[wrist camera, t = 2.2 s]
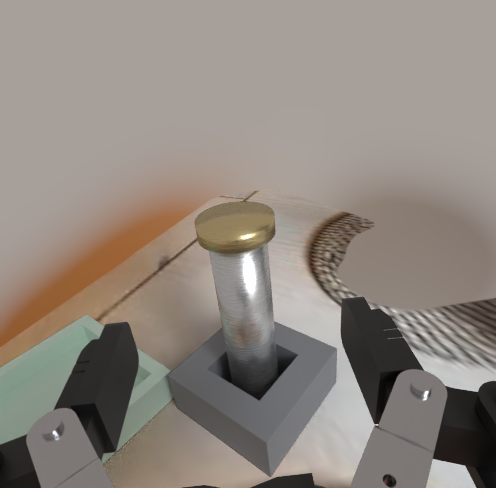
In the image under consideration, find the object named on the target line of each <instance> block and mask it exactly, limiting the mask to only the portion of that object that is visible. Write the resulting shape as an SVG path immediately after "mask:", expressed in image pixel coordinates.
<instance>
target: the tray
mask: <svg viewBox="0 0 496 488" xmlns="http://www.w3.org/2000/svg"><path fill="white" fill-rule="evenodd" d="M103 328H104V326H103V325H102V324H100V323H99V322H97V321H96V320H94V319H93V318H91V317H89V316H88V315H85V316H83V317H82V318H80V319H78V320H77V321H75V322H73V323H72V324H70V325H69V326H67V327H65V328H64V329H62V330H60V331H59V332H57V333H56V334H54V335H52V336H51V337H49V338H47V339H46V340H44V341H43V342H41V343H39V344H38V345H36V346H34V347H33V348H31V349H30V350H28V351H26V352H25V353H23V354H21V355H20V356H18V357H17V358H15V359H13V360H12V361H10V362H8V363H7V364H5V365H4V366H2V367H0V444H3V443H6V442H8V441H11V440H13V439H16V438H19V437H21V436H24V435H26V434H28V432H29V430H30V428H31V427H32V425H33V424H34V423H35V422H36V421H37V420H38V419H39V418H41V417H42V416H43V415H45V414H46V413H48V412H50V411H53V410H54V408H55V406H56V403H57V401H58V399H59V397H60V395H61V393H62V391H63V389H64V386H65V384H66V382H67V380H68V378H69V376H70V374H72V369H73V367H74V365H76V361H77V359H78V357H79V355H80V353H81V350H82V349H83V348H84V347H85V346H86V345H87V344H88V343H89V342H90V341H91V340H93V339H99V337H100V335H101V333H102V330H103ZM137 351H138V356H139V366H138V371H137V375H136V379H135V383H134V386H133V390H132V394H131V398H130V401H129V405H128V409H127V412H126V416H125V420H124V424H123V427H122V431H121V435H120V439H119V442H118V446H117V450H116V452H117V451H118V450H119V449H120V448H121V447H122V446H123V445H124V444H125V443H126V442H127V441H128V440H130V439H131V438H132V437H133V436H134V435H135V434H136V433H137V432H138V431H139V430H140V429H141V428H142V427H143V426H144V425H145V424H147V423H148V422H149V421H150V420H151V419H152V418H153V417H154V416H155V415H156V414H157V413H158V412H159V411H160V410H161V409H163V408H164V407H165V406H166V405H167V404H168V403H169V402H170V401H171V400H172V399H173V398H174V396H173V393H172V389H171V386H170V382H169V379H168V376H167V375H169V374H170V373H171V370H169V369H168V368H166V367H165V366H163V365H162V364H160V363H159V362H157V361H156V360H154V359H153V358H151V357H150V356H148V355H147V354H145V353H144V352H142V351H141V350H139V349H138V348H137ZM116 452H113V453H104V454H103V457H102V461H101V462H102V464H104V463H105V462H106V461H107V460H108V459H109V458H110V457H111V456H112V455H114V454H115V453H116Z"/></svg>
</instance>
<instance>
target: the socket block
mask: <svg viewBox="0 0 496 488" xmlns="http://www.w3.org/2000/svg"><path fill="white" fill-rule="evenodd" d="M274 326H275V338H276V350H277V362H278V374H279V376H280V377H279V378H278V380H277V381H276V382H275V383H274V384H273V386H272V387H271V388H270V389H269V390H268V392H267V393H266V394H265V395H264V396H263V397H262V399H261V400H260V401H259V400H257V399H255V398H254V397H252V396H251V395H249V394H247V393H246V392H244V391H242V390H241V389H239V388H237V387H236V386H234V385H232V384H231V383H232V379H231V374H230V368H229V362H228V356H227V351H226V345H225V339H224V334H223V328H221V329H220V330H219V331H218V332H217V333H216V334H214V335H213V336H212V337H211V338H210V339H209V340H207V341H206V342H205V343H204V344H203V345H202V346H201V347H199V348H198V349H197V350H196V351H195V352H194V353H193V354H191V355H190V356H189V357H188V358H187V359H186V360H185V361H183V362H182V363H181V364H180V365H179V366H178V367H177V368H175V369H174V370H173V371H172V372H171V373H170V374H169V375H167V376H168V379H169V382H170V386H171V389H172V393H173V396H174V399H175V403H176V406H177V408H178V409H180V410H181V411H182V412H184V413H185V414H186V415H188V416H189V417H190V418H192V419H193V420H194V421H196V422H197V423H198V424H200V425H201V426H202V427H204V428H205V429H206V430H208V431H209V432H210V433H212V434H213V435H215V436H216V437H217V438H219V439H220V440H221V441H223V442H224V443H225V444H227V445H228V446H229V447H231V448H232V449H233V450H235V451H236V452H237V453H239V454H240V455H241V456H243V457H244V458H246V459H247V460H248V461H250V462H251V463H252V464H254V465H255V466H256V467H258V468H259V469H260V470H262V471H263V472H264V473H266V474H267V475H268V476H270V477H271V476H272V474H273V473H274V472H275V470H276V469H277V467H278V466H279V464H280V463H281V461H282V460H283V458H284V457H285V456H286V454H287V453H288V451H289V450H290V448H291V447H292V445H293V444H294V442H295V441H296V439H297V438H298V437H299V435H300V434H301V432H302V431H303V429H304V428H305V426H306V425H307V423H308V422H309V420H310V419H311V418H312V416H313V415H314V413H315V412H316V410H317V409H318V407H319V406H320V404H321V403H322V401H323V400H324V399H325V397H326V396H327V394H328V393H329V391H330V390H331V388H332V387H333V385H334V384H335V383H336V364H337V348H334V347H332V346H330V345H327V344H325V343H323V342H321V341H318V340H316V339H314V338H311V337H309V336H307V335H305V334H302V333H300V332H298V331H295V330H293V329H291V328H288V327H286V326H284V325H282V324H279V323H277V322H275V321H274Z"/></svg>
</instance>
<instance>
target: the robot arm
mask: <svg viewBox="0 0 496 488" xmlns="http://www.w3.org/2000/svg"><path fill="white" fill-rule="evenodd" d="M341 338H342V343H343V347H344V349H345V352H346V354H347V357H348V359H349V362H350V364H351V367H352V369H353V372H354V374H355V377H356V379H357V382H358V384H359V387H360V389H361V392H362V394H363V397H364V399H365V402H366V404H367V407H368V409H369V412H370V414H371V417H372V419H373V422H374V424H379V425H378V426H375V427H374V428H373V430H372V433H371V435H370V438H369V440H368V443H367V445H366V448H365V450H364V453H363V455H362V458H361V460H360V463H359V465H358V468H357V470H356V473H355V475H354V478H353V480H352V483H351V485H350V488H426V484H427V480H428V476H429V472H430V467H431V463H432V459H437V460H441V461H446V462H451V463H456V464H460V465H465V466H466V468H467V470H468V472H469V474H470V476H471V478H472V480H473V481H474V483H475V485H476V487H477V488H496V381H491V382H486V383H484V384H483V385H482V386H481V387H480V388H479V391H478V392H473V391H467V390H461V389H455V388H450V387H447V386H445V385H444V384H443V383H442V381H441V380H440V379H438V378H437V377H436V376H434V375H433V374H431V373H429V372H426V371H424V370H423V368H422V366H421V365H420V363H419V362H418V360H417V358H416V357H415V355H414V354H413V352H412V350H411V349H410V347H409V346H408V344H407V342H406V341H405V339H404V338H403V336H402V334H401V333H400V331H399V330H398V329H397V326H396V325H395V323H394V321H393V320H392V318H391V317H390V316H389V315H387V314H386V313H385V312H383V311H382V310H381V309H373V310H371V309H370V307H369V305H368V303H367V302H366V300H365V298H364V297H355V298H346V299H343V300H342V309H341ZM138 366H139V356H138V351H137V348H136V345H135V342H134V338H133V335H132V332H131V329H130V326H129V324H128V323H127V322H121V323H112V324H106V325H105V326H104V328H103V330H102V333H101V335H100V337H99V339H93V340H91V341H90V342H89V343H88V344H87V345H86V346H85V347H84V348H83V349H82V350H81V353H80V355H79V357H78V359H77V361H76V365H74V367H73V369H72V374H70V376H69V378H68V380H67V382H66V384H65V386H64V389H63V391H62V393H61V395H60V397H59V399H58V401H57V403H56V406H55V408H54V410H53V411H50V412H48V413H46V414H45V415H43V416H42V417H41V418H39V419H38V420H37V421H36V422H35V423H34V424H33V425H32V427H31V428H30V430H29V432H28V434H26V435H24V436H21V437H19V438H16V439H13V440H11V441H8V442H6V443H3V444H0V488H114V486H113V484H112V482H111V480H110V478H109V476H108V474H107V472H106V470H105V468H104V466H103V464H102V462H101V461H102V457H103V454H104V453H113V452H116V450H117V446H118V442H119V439H120V435H121V431H122V427H123V424H124V420H125V416H126V412H127V409H128V405H129V401H130V398H131V394H132V390H133V386H134V383H135V379H136V375H137V371H138ZM184 488H218V487H212V486H207V485H202V486H193V487H184ZM251 488H326V487H322V486H318V485H314V481H313V476H312V473H308V474H299V475H290V476H282V477H276V478H273V479H271V480H268V481H266V482H263V483H261V484H258V485H256V486H254V487H251Z"/></svg>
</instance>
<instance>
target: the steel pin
mask: <svg viewBox="0 0 496 488" xmlns="http://www.w3.org/2000/svg"><path fill="white" fill-rule="evenodd" d="M195 228H196V233H197V238H198V242H199V244H200V245H201V246H202V247H203V248H205V249H207V250H209V253H210V259H211V265H212V271H213V276H214V282H215V288H216V293H217V299H218V305H219V311H220V316H221V322H222V328H223V334H224V339H225V345H226V351H227V356H228V362H229V368H230V374H231V379H232V385H234V386H236V387H237V388H239V389H241V390H242V391H244V392H246V393H247V394H249V395H251V396H252V397H254V398H255V399H257V400H259V401H260V400H261V399H262V397H263V396H264V395H265V394H266V393H267V392H268V390H269V389H270V388H271V387H272V386H273V384H274V383H275V382H276V381H277V380H278V378H279V374H278V362H277V350H276V338H275V326H274V315H273V303H272V291H271V279H270V268H269V256H268V244H267V243H268V242H269V241H270V240H271V239H272V238H273V237H274V235H275V218H274V211H273V210H272V209H271V208H270V207H268V206H267V205H264V204H261V203H257V202H246V201H241V202H230V203H225V204H221V205H217V206H214V207H211V208H209V209H207V210H205V211H204V212H202V213H201V214H199V215H198V217H197V218H196V220H195Z"/></svg>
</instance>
